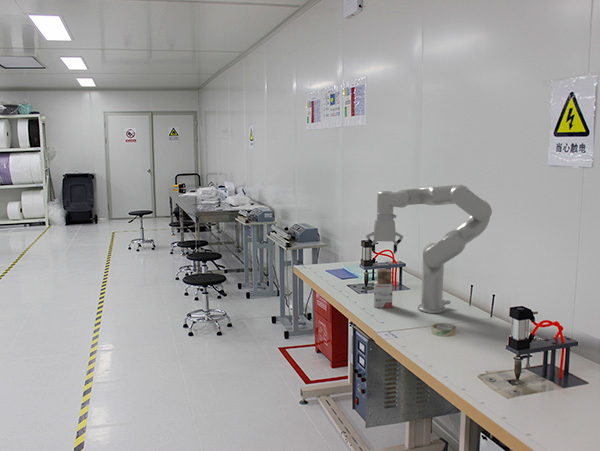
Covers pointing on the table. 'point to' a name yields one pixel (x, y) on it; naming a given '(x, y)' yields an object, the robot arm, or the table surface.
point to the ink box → (383, 295)
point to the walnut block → (383, 276)
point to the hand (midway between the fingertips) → (384, 253)
